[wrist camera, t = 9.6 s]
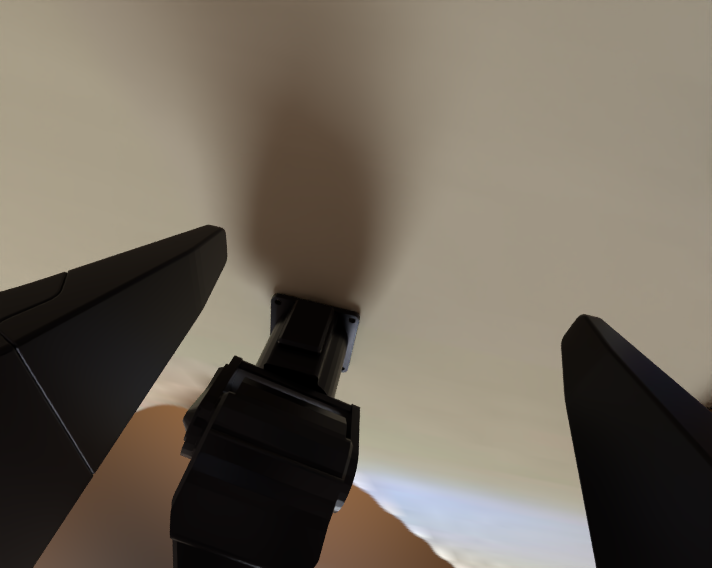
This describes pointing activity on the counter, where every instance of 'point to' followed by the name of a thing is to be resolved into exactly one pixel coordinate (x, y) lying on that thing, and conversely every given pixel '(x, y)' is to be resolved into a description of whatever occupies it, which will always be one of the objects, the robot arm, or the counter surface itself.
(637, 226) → the counter surface
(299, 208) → the counter surface
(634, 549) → the robot arm
